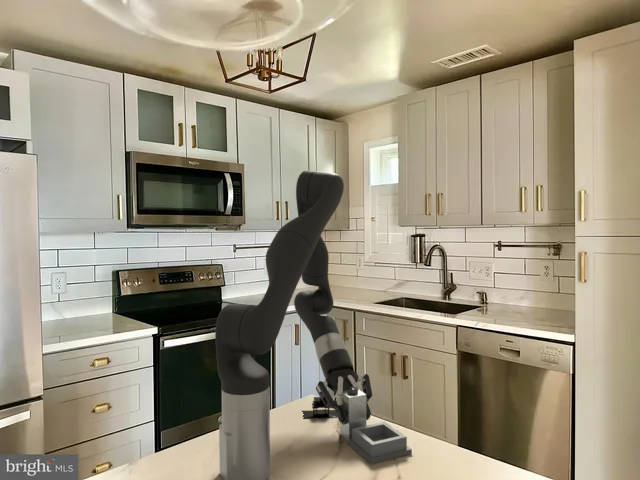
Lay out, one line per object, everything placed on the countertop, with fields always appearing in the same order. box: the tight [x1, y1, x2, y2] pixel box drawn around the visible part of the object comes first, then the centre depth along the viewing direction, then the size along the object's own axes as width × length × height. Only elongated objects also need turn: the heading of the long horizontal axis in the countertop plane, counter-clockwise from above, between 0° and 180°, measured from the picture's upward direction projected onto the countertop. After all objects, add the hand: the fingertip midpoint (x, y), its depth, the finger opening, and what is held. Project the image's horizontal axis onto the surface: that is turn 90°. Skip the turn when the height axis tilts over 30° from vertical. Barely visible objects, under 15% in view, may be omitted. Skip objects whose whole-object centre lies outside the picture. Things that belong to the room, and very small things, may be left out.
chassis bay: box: [347, 421, 413, 465], centre depth 100 cm, size 10×10×4 cm
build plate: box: [301, 396, 338, 420], centre depth 119 cm, size 12×7×5 cm, turn 94°
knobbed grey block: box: [339, 387, 367, 441], centre depth 107 cm, size 4×4×11 cm
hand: (356, 420), depth 105 cm, fingers open, 5 cm apart
